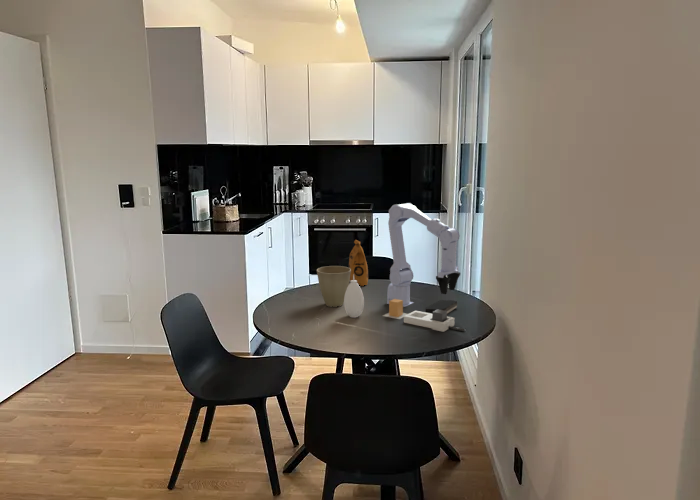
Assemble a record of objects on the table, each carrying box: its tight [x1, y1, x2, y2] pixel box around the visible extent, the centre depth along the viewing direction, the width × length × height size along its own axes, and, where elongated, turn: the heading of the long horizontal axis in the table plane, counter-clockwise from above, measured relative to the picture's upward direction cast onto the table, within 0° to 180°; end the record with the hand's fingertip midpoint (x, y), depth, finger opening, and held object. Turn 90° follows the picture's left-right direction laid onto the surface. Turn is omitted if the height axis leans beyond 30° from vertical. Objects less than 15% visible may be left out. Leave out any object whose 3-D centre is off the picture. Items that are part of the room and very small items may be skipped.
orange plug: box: [388, 299, 404, 317], centre depth 208 cm, size 4×4×6 cm
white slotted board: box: [403, 310, 466, 332], centre depth 196 cm, size 23×9×3 cm, turn 53°
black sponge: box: [424, 299, 458, 314], centre depth 214 cm, size 16×8×4 cm, turn 146°
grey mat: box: [382, 312, 408, 320], centre depth 209 cm, size 8×8×1 cm
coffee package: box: [348, 239, 369, 287], centre depth 262 cm, size 10×12×22 cm
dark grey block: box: [432, 309, 448, 322], centre depth 194 cm, size 4×4×6 cm
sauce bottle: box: [343, 274, 365, 318], centre depth 206 cm, size 8×8×18 cm
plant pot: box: [316, 265, 351, 308], centre depth 225 cm, size 15×15×16 cm
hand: (447, 291), depth 207 cm, fingers open, 7 cm apart
